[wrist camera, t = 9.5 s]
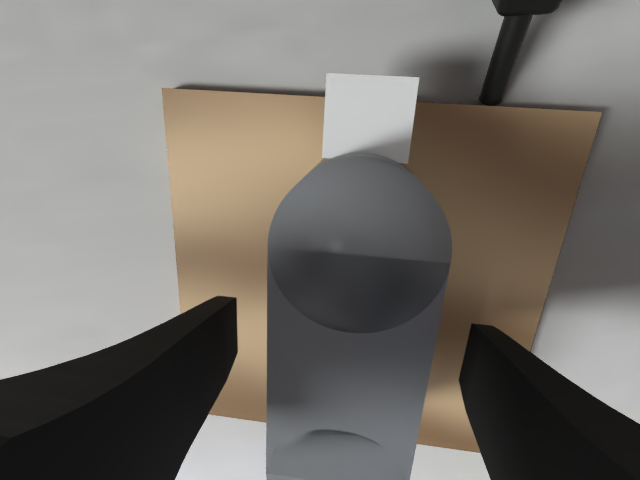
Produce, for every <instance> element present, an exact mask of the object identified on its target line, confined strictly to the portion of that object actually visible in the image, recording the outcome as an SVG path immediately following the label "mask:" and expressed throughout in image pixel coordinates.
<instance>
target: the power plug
mask: <svg viewBox="0 0 640 480" xmlns="http://www.w3.org/2000/svg"><path fill="white" fill-rule="evenodd" d="M492 2H493V4H494V6H495V8H496V10H497V12H498V14H499V15H501V16H504V20H503V23H502V26H501V29H500V32H499V36H498V39H497V42H496V45H495V49H494V52H493V55H492V58H491V62H490V65H489V68H488V71H487V75H486V78H485V81H484V84H483V88H482V91H481V94H480V97H479V101H480V102H481V103H482V104H484V105H487V106H496V105H498V104H500V103H501V101H502V98H503V95H504V92H505V90H506V87H507V84H508V82H509V79H510V76H511V73H512V71H513V68H514V65H515V62H516V60H517V57H518V54H519V52H520V49H521V46H522V43H523V41H524V38H525V35H526V32H527V30H528V27H529V24H530V22H531V19H532V16H533V15H540V14H549V13H552V12H554V11H555V10H556V9H557V8H558V7H559V5H560V3H561V2H562V0H492Z"/></svg>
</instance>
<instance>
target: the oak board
mask: <svg viewBox="0 0 640 480" xmlns="http://www.w3.org/2000/svg"><path fill="white" fill-rule="evenodd" d="M162 96H163V108H164V119H165V131H166V143H167V155H168V167H169V179H170V191H171V203H172V215H173V227H174V238H175V250H176V262H177V274H178V286H179V298H180V310H181V314H182V313H184V312H186V311H188V310H190V309H192V308H193V307H195V306H197V305H199V304H201V303H203V302H205V301H207V300H209V299H211V298H213V297H216V296H227V297H236V298H237V336H238V353H237V356H236V359H235V361H234V364H233V366H232V369H231V371H230V374H229V376H228V379H227V381H226V383H225V385H224V387H223V389H222V390H221V392H220V394H219V396H218V398H217V400H216V401H215V403H214V405H213V407H212V409H211V410H210V412H209V414H210V415H217V416H224V417H231V418H238V419H245V420H252V421H259V422H266V423H267V244H268V234H269V229H270V225H271V222H272V219H273V216H274V214H275V212H276V210H277V208H278V206H279V204H280V203H281V201H282V200H283V199H284V197H285V196H286V195H287V193H288V192H289V191H290V190H291V189H292V188H293V187H294V186H295V185H296V184H297V183H298V182H299V181H300V180H301V179H302V178H303V177H305V176H306V175H307V174H308V173H309V172H310V171H311V170H312V169H313V168H314V167H315V166H316V165H317V164H318V163H319V162H320V161H321V160H322V159H324V158H322V146H323V127H324V109H325V97H318V96H300V95H281V94H263V93H245V92H226V91H208V90H190V89H171V88H162ZM601 114H602V112H593V111H574V110H556V109H538V108H519V107H501V106H483V105H464V104H446V103H428V102H416V107H415V114H414V122H413V129H412V137H411V144H410V152H409V159H408V164H405V163H403V164H404V165H405V166H406V167H407V168H408V169H409V170H410V171H411V172H412V174H413V175H414V176H415V177H416V178H417V179H418V180H419V181H420V182H421V183H422V184H423V185H424V186H425V188H426V189H427V190H428V191H429V192H430V193H431V194H432V195H433V196H434V198H435V199H436V200H437V202H438V203H439V205H440V206H441V208H442V210H443V212H444V214H445V216H446V219H447V222H448V225H449V228H450V233H451V238H452V257H451V265H450V270H449V275H448V281H447V286H446V291H445V296H444V302H443V307H442V312H441V317H440V323H439V328H438V333H437V338H436V344H435V349H434V354H433V359H432V365H431V370H430V375H429V380H428V386H427V391H426V396H425V401H424V407H423V412H422V417H421V422H420V428H419V433H418V438H417V443H416V444H422V445H429V446H436V447H443V448H450V449H457V450H464V451H471V452H478V453H481V452H480V449H479V447H478V444H477V441H476V439H475V436H474V433H473V430H472V428H471V425H470V422H469V419H468V416H467V414H466V410H465V406H464V402H463V398H462V393H461V388H460V384H459V376H460V371H461V367H462V363H463V358H464V354H465V350H466V345H467V341H468V336H469V332H470V328H471V323H473V324H483V325H492V326H494V327H496V328H498V329H499V330H501V331H502V332H504V333H505V334H506V335H508V336H509V337H511V338H512V339H513V340H515V341H516V342H517V343H519V344H520V345H521V346H523V347H524V348H526V349H527V350H528V351H530V350H531V346H532V343H533V340H534V336H535V333H536V330H537V326H538V323H539V320H540V316H541V313H542V310H543V306H544V303H545V300H546V297H547V293H548V290H549V287H550V283H551V280H552V277H553V273H554V270H555V267H556V263H557V260H558V257H559V253H560V250H561V247H562V243H563V240H564V237H565V234H566V230H567V227H568V224H569V220H570V217H571V214H572V210H573V207H574V204H575V200H576V197H577V194H578V190H579V187H580V184H581V181H582V177H583V174H584V171H585V167H586V164H587V161H588V157H589V154H590V151H591V147H592V144H593V141H594V137H595V134H596V131H597V127H598V124H599V121H600V118H601Z"/></svg>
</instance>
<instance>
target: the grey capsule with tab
mask: <svg viewBox="0 0 640 480" xmlns="http://www.w3.org/2000/svg"><path fill="white" fill-rule="evenodd" d="M418 84H419V77H400V76H378V75H356V74H333V73H326V90H325V109H324V127H323V146H322V158H324V159H322V160H321V161H320V162H319V163H318V164H317V165H316V166H315V167H314V168H313V169H312V170H311V171H310V172H309V173H308V174H307V175H306V176H305V177H303V178H302V179H301V180H300V181H299V182H298V183H297V184H296V185H295V186H294V187H293V188H292V189H291V190H290V191H289V192H288V193H287V195H286V196H285V197H284V199H283V200H282V201H281V203H280V204H279V206H278V208H277V210H276V212H275V214H274V216H273V219H272V222H271V225H270V229H269V234H268V244H267V434H266V476H267V480H410V475H411V469H412V464H413V459H414V454H415V449H416V443H417V438H418V433H419V428H420V422H421V417H422V412H423V407H424V401H425V396H426V391H427V386H428V380H429V375H430V370H431V365H432V359H433V354H434V349H435V344H436V338H437V333H438V328H439V323H440V317H441V312H442V307H443V302H444V296H445V291H446V286H447V281H448V275H449V270H450V265H451V257H452V238H451V233H450V228H449V225H448V222H447V219H446V216H445V214H444V212H443V210H442V208H441V206H440V205H439V203H438V202H437V200H436V199H435V198H434V196H433V195H432V194H431V193H430V192H429V191H428V190H427V189H426V188H425V186H424V185H423V184H422V183H421V182H420V181H419V180H418V179H417V178H416V177H415V176H414V175H413V174H412V172H411V171H410V170H409V169H408V168H407V167H406V166H405V165H404V164H403V163H405V164H408V159H409V152H410V144H411V137H412V129H413V122H414V114H415V107H416V99H417V92H418Z"/></svg>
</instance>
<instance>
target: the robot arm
mask: <svg viewBox="0 0 640 480" xmlns="http://www.w3.org/2000/svg"><path fill="white" fill-rule="evenodd" d="M237 353H238V336H237V298H236V297H227V296H216V297H213V298H211V299H209V300H207V301H205V302H203V303H201V304H199V305H197V306H195V307H193V308H192V309H190V310H188V311H186V312H184V313H182V314H180V315H178V316H176V317H174V318H172V319H170V320H169V321H167V322H165V323H162V324H160V325H158V326H156V327H154V328H152V329H150V330H148V331H146V332H143V333H141V334H139V335H137V336H135V337H133V338H130V339H128V340H126V341H123V342H121V343H118V344H116V345H113V346H111V347H108V348H105V349H103V350H100V351H98V352H95V353H92V354H89V355H86V356H83V357H80V358H77V359H74V360H70V361H67V362H64V363H61V364H58V365H54V366H51V367H48V368H45V369H41V370H37V371H34V372H30V373H26V374H22V375H18V376H14V377H10V378H6V379H2V380H0V480H175V478H176V476H177V474H178V471H179V469H180V467H181V464H182V462H183V460H184V458H185V456H186V454H187V452H188V450H189V448H190V446H191V445H192V443H193V441H194V439H195V437H196V436H197V434H198V432H199V430H200V428H201V427H202V425H203V423H204V421H205V419H206V418H207V416H208V414H209V412H210V410H211V409H212V407H213V405H214V403H215V401H216V400H217V398H218V396H219V394H220V392H221V390H222V389H223V387H224V385H225V383H226V381H227V379H228V376H229V374H230V371H231V369H232V366H233V364H234V361H235V359H236V356H237ZM459 384H460V388H461V393H462V398H463V402H464V406H465V410H466V414H467V416H468V419H469V422H470V425H471V428H472V430H473V433H474V436H475V439H476V441H477V444H478V447H479V449H480V452H481V455H482V457H483V460H484V463H485V465H486V468H487V471H488V473H489V476H490V479H491V480H640V424H639V423H637V422H635V421H633V420H632V419H630V418H628V417H627V416H625V415H623V414H622V413H620V412H618V411H616V410H615V409H613V408H611V407H610V406H608V405H606V404H605V403H603V402H602V401H600V400H598V399H597V398H595V397H594V396H592V395H591V394H589V393H588V392H586V391H585V390H583V389H582V388H580V387H579V386H577V385H576V384H574V383H573V382H571V381H570V380H568V379H567V378H565V377H564V376H563V375H561V374H560V373H558V372H557V371H556V370H554V369H553V368H551V367H550V366H549V365H547V364H546V363H544V362H543V361H542V360H540V359H539V358H538V357H536V356H535V355H534V354H532V353H531V352H530V351H528V350H527V349H526V348H524V347H523V346H521V345H520V344H519V343H517V342H516V341H515V340H513V339H512V338H511V337H509V336H508V335H506V334H505V333H504V332H502V331H501V330H499V329H498V328H496V327H494V326H492V325H483V324H473V323H471V328H470V332H469V336H468V341H467V345H466V350H465V354H464V358H463V363H462V367H461V371H460V376H459Z"/></svg>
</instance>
